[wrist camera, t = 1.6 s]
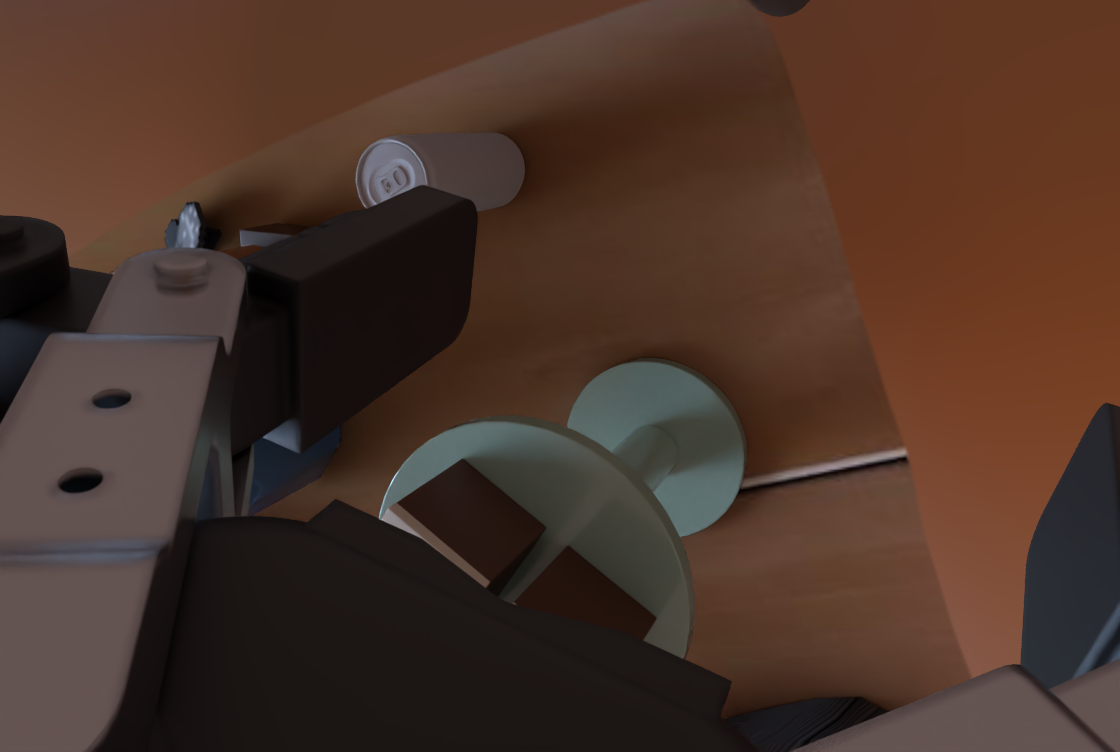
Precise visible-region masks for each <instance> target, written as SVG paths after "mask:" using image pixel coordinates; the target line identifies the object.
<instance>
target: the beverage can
mask: <svg viewBox="0 0 1120 752" xmlns="http://www.w3.org/2000/svg"><path fill="white" fill-rule="evenodd" d="M524 175H525V165H524V159H523V156H522V154H521V151H520V150H519V148H518V147H517V145H516V144H515V143H514V142H513V141H512V140H511V139H509V138H508V137H507V136H504V135H502V134H500V133H493V132H483V133H434V134H413V135H396V136H390V137H386V138H384V139H382V140H378V141H376V142H375V143H373V144H371V145H370V146H369V147H368V148H367V149H366V150H365V151H364V152H363V154H362V156H361V158H360V160H359V162H358V166H357V170H356V185H357V191H358V194H359V197H360V199H361V202H362V204H363V205H364V207H365V208H366V209H367V208H370V207H372V206H374V205H377V204H379V203H381V202H383V201H385V200H388V199H390V198H392V197H394V196H397V195H399V194H401V193H403V192H406V191H408V190H410V189H412V188H414V187H417V186H420V185H426V186H429V187H432V188H435V189H438V190H442V191H445V192H448V193H451V194H454V195H457V196H461V197H464V198H467V199H470V200H472V201H473V202H474V204H475V206H476V209H477V212H478V211H483V210H488V209H492V208H497V207H501V206H504V205H506V204H508V203H509V202H510V201H511V200H512V199H513V198H514V197H515V196H516V195H517V193H518V191H519V190H520V188H521V186H522V183H523V180H524Z"/></svg>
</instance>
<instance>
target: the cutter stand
mask: <svg viewBox="0 0 1120 752" xmlns="http://www.w3.org/2000/svg"><path fill="white" fill-rule="evenodd" d="M309 228H311V226H302V225H292V224H283V223H275V224H269V225H262V226H256V227H250V228H244V229H240V241H241V246H249V245H257V246H259V247H261V248H266V247H268V246H270V245H272V244H275V243H277V242H279V241H281V240H284V239H286V238H288V237H291V236H293V235H294V236H297V237H298V234H299V233H300V232H302V231H304V230H306V229H309Z"/></svg>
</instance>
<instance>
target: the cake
mask: <svg viewBox="0 0 1120 752" xmlns="http://www.w3.org/2000/svg"><path fill="white" fill-rule="evenodd" d="M381 520H382V521H385V522H387V523H389V524H391V525H393V526H396V527H398V528H400V529H402V530H404V531H406V532H409V533H411V534H413V535H415V536H417V537H419V538H422V539H423V540H424V541H426V542H427V543H428V544H430V545H431V546H432V547H433V548H435V549H436V550H437V551H439V552H440V553H441V554H442V555H444V556H445V557H446V558H448V559H449V560H450V561H452V562H453V563H454V564H455V565H457V566H458V567H459V568H461V569H462V570H463V571H464V572H466V573H467V574H468V575H470V576H471V577H472V578H474V579H475V580H476V581H477V582H479V583H480V584H481V585H483V586H484V587H485V588H486V589H488V590H489V591H490V592H492V593H493V594H494V595H496V596H497V597H498V596H499V595H500V594H501V592H502V591H503V589H504V588H505V586H506V585H507V584H508V582H509V581H510V579H511V578H512V576H513V575H514V574H515V572H516V571H517V569H518V568H519V567H520V565H521V564H522V562H523V561H524V559H525V558H526V557H527V555H528V554H529V552H530V551H531V549H532V548H533V547H534V545H535V544H536V542H537V541H538V539H539V538H540V537H541V535H542V534H543V532H544V531H545V530H546V526H544V525H543V524H542V523H541V522H540V521H538V520H537V519H536V518H535V517H533V516H532V515H531V514H530V513H529V512H527V511H526V510H525V509H524V508H523V507H521V506H520V505H519V504H518V503H516V502H515V501H514V500H513V499H512V498H510V497H509V496H508V495H507V494H505V493H504V492H503V491H502V490H501V489H499V488H498V487H497V486H496V485H494V484H493V483H492V482H491V481H490V480H488V479H487V478H486V477H485V476H484V475H482V474H481V473H480V472H479V471H477V470H476V469H475V468H474V467H473V466H471V465H470V464H469V463H468V462H466V461H465V460H464V459H461V460H459V461H458V462H456V463H455V464H453V465H452V466H450V467H449V468H447V469H446V470H444V471H443V472H441V473H440V474H438V475H437V476H435V477H434V478H432V479H431V480H429V481H428V482H426V483H425V484H423V485H422V486H420V487H419V488H417V489H416V490H414V491H413V492H411V493H410V494H408V495H407V496H405V497H404V498H402V499H401V500H399V501H398V502H397V503H394V504H393V505H391V506H390V507H388V509H387V510H386V512H385V514H384V516H383V517H382V519H381Z"/></svg>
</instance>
